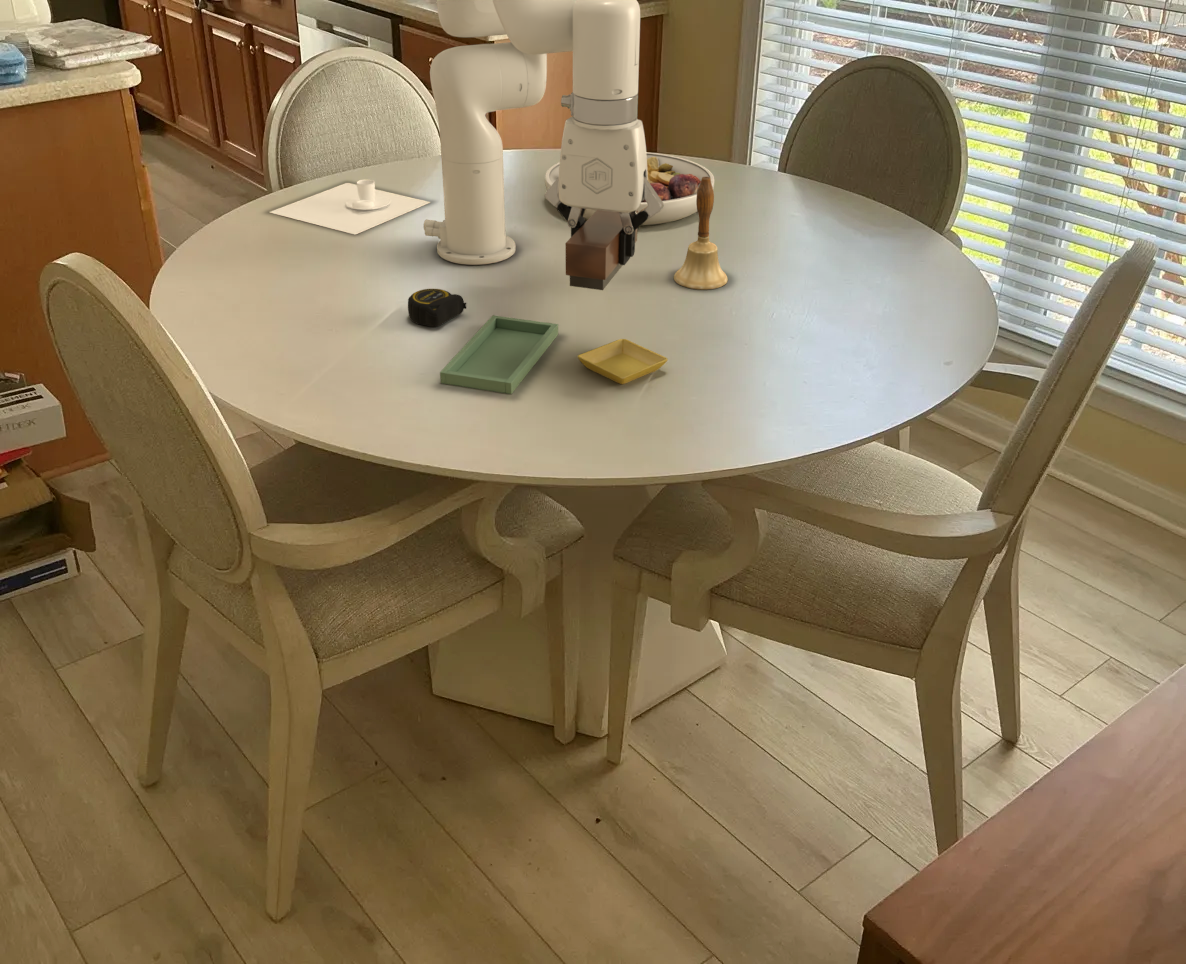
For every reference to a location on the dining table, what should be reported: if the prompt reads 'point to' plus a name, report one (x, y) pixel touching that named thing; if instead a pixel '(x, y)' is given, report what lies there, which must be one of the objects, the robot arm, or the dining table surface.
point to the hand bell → (702, 249)
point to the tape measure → (434, 306)
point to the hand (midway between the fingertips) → (602, 257)
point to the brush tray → (500, 354)
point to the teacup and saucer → (350, 207)
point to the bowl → (663, 186)
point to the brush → (595, 251)
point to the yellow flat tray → (622, 361)
